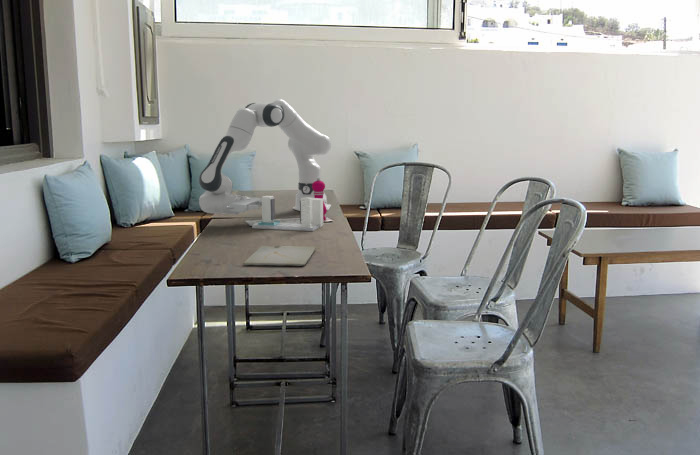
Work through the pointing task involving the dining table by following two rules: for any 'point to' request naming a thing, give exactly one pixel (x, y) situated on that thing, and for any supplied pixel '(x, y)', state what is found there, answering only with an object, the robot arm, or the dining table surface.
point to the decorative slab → (280, 256)
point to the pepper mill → (319, 193)
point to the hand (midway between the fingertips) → (263, 205)
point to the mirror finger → (318, 211)
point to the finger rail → (305, 224)
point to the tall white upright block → (268, 209)
